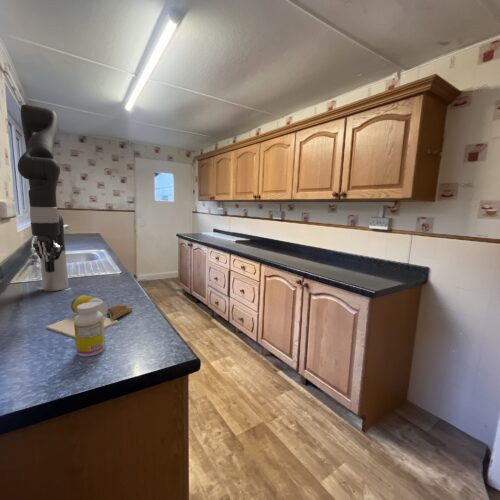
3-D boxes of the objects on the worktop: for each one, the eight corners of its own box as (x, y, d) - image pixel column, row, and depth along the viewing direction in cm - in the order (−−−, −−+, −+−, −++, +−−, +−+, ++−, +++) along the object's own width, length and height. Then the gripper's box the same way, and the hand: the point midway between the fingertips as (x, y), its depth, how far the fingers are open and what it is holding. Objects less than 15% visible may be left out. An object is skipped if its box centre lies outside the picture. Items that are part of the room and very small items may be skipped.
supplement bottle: (84, 344, 75) (81, 300, 73) (109, 344, 76) (106, 300, 74) (71, 358, 69) (66, 310, 66) (98, 357, 69) (95, 309, 67)
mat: (46, 328, 84) (46, 326, 84) (86, 313, 96) (86, 311, 96) (79, 339, 78) (79, 337, 78) (118, 322, 90) (118, 320, 89)
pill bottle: (65, 304, 91) (89, 310, 86) (81, 290, 95) (104, 295, 91) (76, 316, 94) (99, 323, 90) (91, 303, 99) (113, 308, 94)
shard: (112, 321, 89) (112, 315, 88) (92, 318, 90) (92, 313, 90) (133, 311, 99) (133, 306, 99) (115, 309, 101) (115, 304, 101)
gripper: (20, 220, 88) (26, 271, 91) (44, 222, 83) (50, 277, 86) (45, 219, 95) (50, 267, 98) (69, 221, 90) (73, 272, 93)
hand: (50, 271), depth 92 cm, fingers closed
